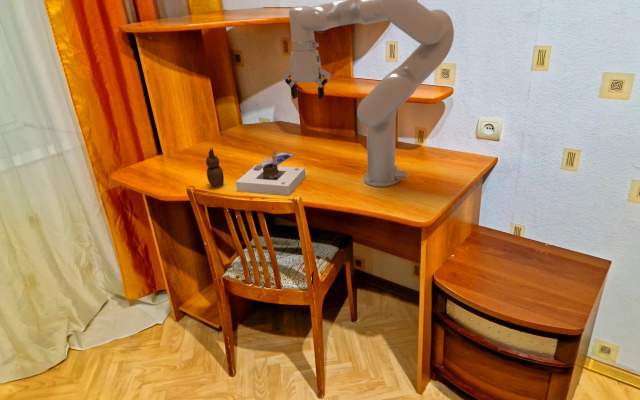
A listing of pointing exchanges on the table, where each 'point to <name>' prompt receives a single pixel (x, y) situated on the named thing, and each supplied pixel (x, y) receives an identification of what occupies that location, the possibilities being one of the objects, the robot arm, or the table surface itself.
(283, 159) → the smartphone
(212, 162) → the wooden figurine
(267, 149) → the table surface
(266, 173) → the utensil holder
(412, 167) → the table surface
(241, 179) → the socket block
